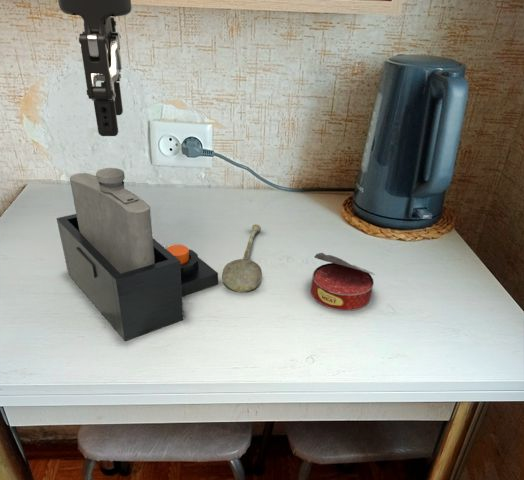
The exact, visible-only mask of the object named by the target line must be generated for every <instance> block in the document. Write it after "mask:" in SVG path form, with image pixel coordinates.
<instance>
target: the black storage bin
mask: <svg viewBox="0 0 524 480" xmlns="http://www.w3.org/2000/svg"><path fill="white" fill-rule="evenodd" d="M56 222H57V228H58V232H59V237H60V243H61V247H62V251H63V256H64V260H65V264H66V270H67V274H68V276H69V277H70V278H71V280H72V281H73V282H74V283H75V285H77V287H78V288H79V290H81V291H82V292H83V294H84V295H85V296H86V297H87V298H88V299H89V301H90V302H91V303H92V305H94V307H95V308H96V309H97V310H98V311H99V312H100V313H101V315H102V316H103V317H104V319H106V321H107V322H108V323H109V324H110V326H111V327H113V329H114V330H115V331H116V332H117V334H118V335H119V336H120V338H121V339H122V340H123V341H124V342H126V341H129V340H132V339H135V338H137V337H141V336H143V335H145V334H148V333H152V332H154V331H157V330H159V329H162V328H164V327H168V326H170V325H173V324H175V323H179V322H181V321H184V309H183V307H184V306H183V296H182V285H181V266H180V260H178V259H177V258H176V257H175V256H174V255H173V254H171V253H170V252H169V251H168V250H167V248H166V247H164V246H163V245H162V244H161V243H159V241H157V240H156V239H155V238H154V237H153V248H154V260H155V264H152V265H149V266H145V267H142V268H138V269H135V270H132V271H128V272H125V273H122V274H120V273H119V272H118V271H117V270H116V269H115V268H114V267H113V265H112V264H111V263H110V262H109V261H108V260H107V259H106V258H105V257H104V256H103V255H102V254H101V253H100V252H99V251H98V250H97V249H96V248H95V247H94V246H93V245H92V244H91V243H90V242H89V241H88V240H87V239H86V238H85V237H84V236H83V235H82V234H81V233H80V231H79V226H78V220H77V215H76V213H74V214H69V215H65V216H59V217H56Z"/></svg>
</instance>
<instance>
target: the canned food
mask: <svg viewBox="0 0 524 480" xmlns="http://www.w3.org/2000/svg"><path fill="white" fill-rule="evenodd" d="M313 258H315V259H317V260H320V261H324V262H327V263H325V264H322V265H320V266H318V267H316V268H315V269H314V271H313V273H312V279H311V287H310V294H311V296H312V298H313V299H314V301H316V302H317V303H318V304H320V306H323V307H325V308H328V309H331V310H336V311H345V312H350V311H357V310H360V309H363V308H364V307H366V306H367V305H368V304H369V302H370V300H371V296H372V292H373V287H374V283H375V282H374V281H375V280H374V278H373V276H375V275H376V274H375V273H374V272H373V271H370V270H368V269H365V268H362V267H360V266H357V265H354V264H352V263H349V262H347V261H346V260H343V259H342V258H339V257H338V256H334V255H331V254H326V253H324V252H318V253H316V254H315V255H314V256H313ZM372 275H373V276H372Z"/></svg>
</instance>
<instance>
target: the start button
mask: <svg viewBox="0 0 524 480" xmlns="http://www.w3.org/2000/svg"><path fill="white" fill-rule="evenodd" d="M166 249H167V250H168V251H169V252H170V253H171V254H173V255H174V256H175V257H176V258H177V259H178V260H180V264H182V263H186V262H188V261H189V247H188V246H186V245H183V244H172V245H169V246H167V247H166Z"/></svg>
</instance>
